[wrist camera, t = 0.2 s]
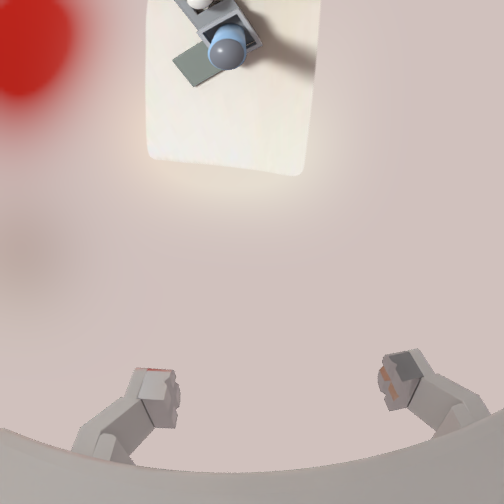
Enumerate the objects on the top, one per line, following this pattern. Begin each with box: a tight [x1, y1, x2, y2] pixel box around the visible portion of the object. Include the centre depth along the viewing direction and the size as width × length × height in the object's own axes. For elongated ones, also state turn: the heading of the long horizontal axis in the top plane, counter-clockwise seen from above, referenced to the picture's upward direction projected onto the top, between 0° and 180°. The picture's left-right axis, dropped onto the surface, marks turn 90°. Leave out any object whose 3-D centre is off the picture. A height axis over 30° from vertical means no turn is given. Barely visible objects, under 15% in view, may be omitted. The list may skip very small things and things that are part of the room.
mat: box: [172, 41, 222, 87], centre depth 47 cm, size 7×7×1 cm
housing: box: [174, 0, 263, 54], centre depth 39 cm, size 16×8×4 cm, turn 30°
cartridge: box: [208, 23, 246, 70], centre depth 37 cm, size 5×5×15 cm
